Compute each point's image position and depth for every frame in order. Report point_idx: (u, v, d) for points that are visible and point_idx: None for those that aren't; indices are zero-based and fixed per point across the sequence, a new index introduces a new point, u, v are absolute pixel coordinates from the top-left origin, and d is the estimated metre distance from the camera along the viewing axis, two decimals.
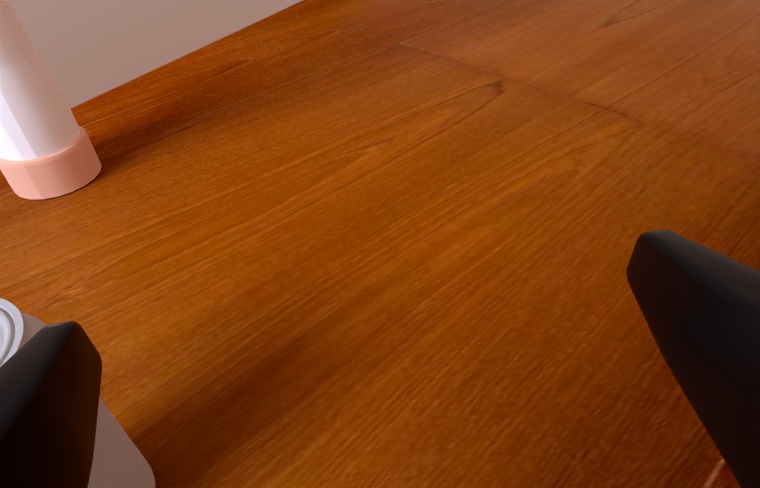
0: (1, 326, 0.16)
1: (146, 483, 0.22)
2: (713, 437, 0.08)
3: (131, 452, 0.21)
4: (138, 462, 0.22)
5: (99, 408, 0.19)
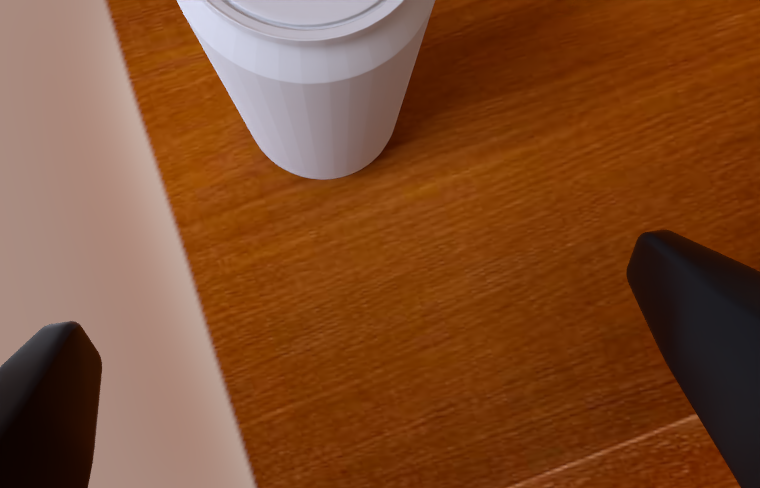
0: None
1: None
2: (713, 437, 0.08)
3: None
4: None
5: None
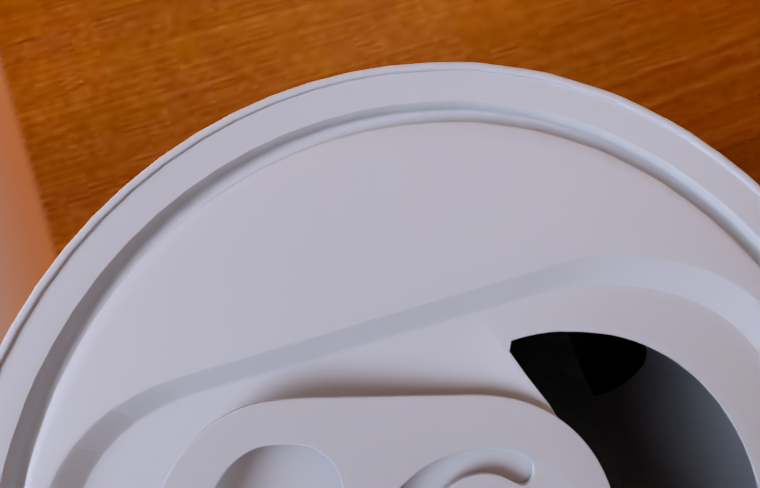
0: None
1: None
2: None
3: (519, 355, 0.11)
4: None
5: None
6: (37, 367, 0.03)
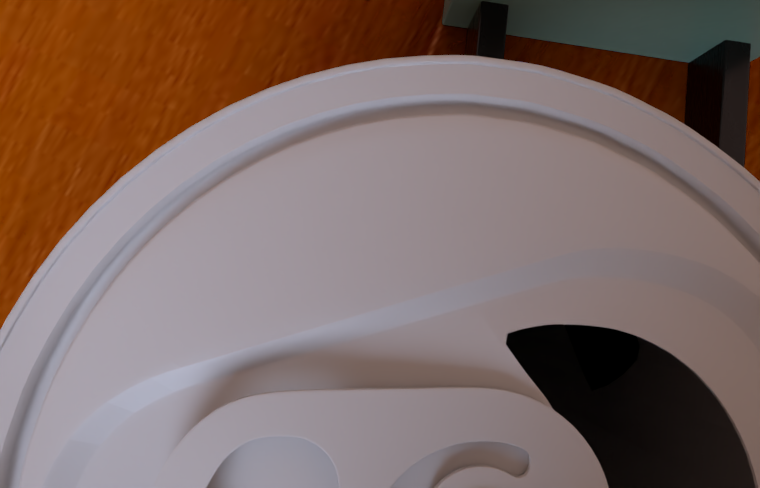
0: None
1: None
2: None
3: (518, 353, 0.11)
4: None
5: None
6: (33, 359, 0.03)
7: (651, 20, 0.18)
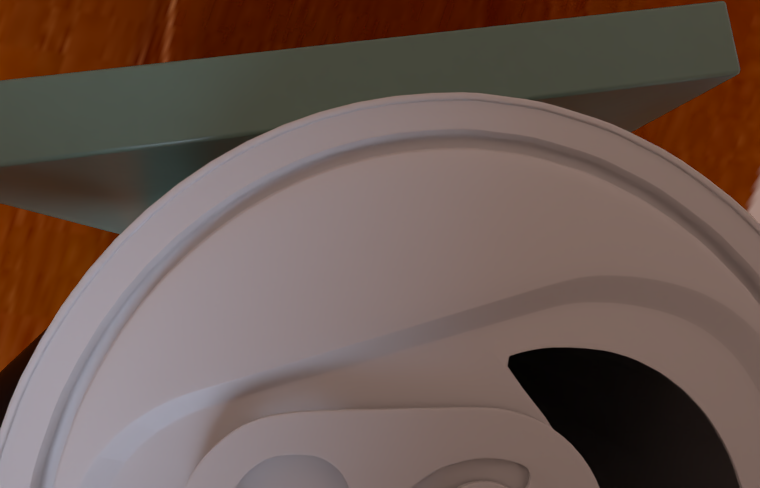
0: None
1: None
2: None
3: (518, 360, 0.11)
4: None
5: (588, 381, 0.08)
6: (64, 381, 0.03)
7: None
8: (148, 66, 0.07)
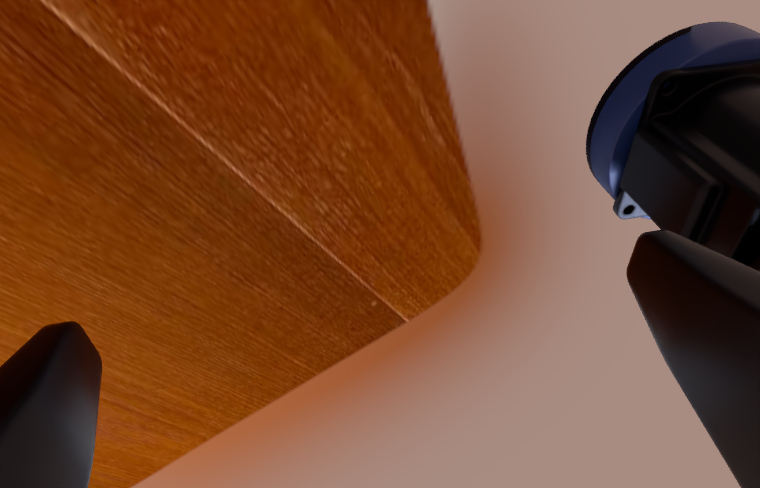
0: None
1: None
2: (713, 437, 0.08)
3: None
4: None
5: None
6: None
7: None
8: None
